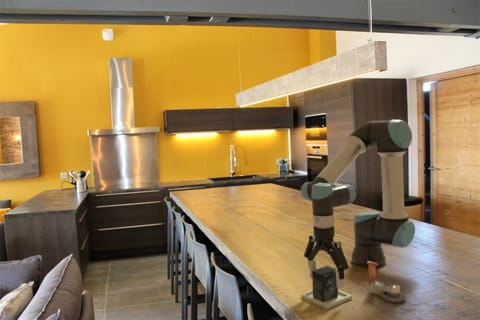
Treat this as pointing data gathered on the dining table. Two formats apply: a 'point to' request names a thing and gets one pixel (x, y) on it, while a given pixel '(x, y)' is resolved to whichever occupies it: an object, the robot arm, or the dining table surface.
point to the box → (324, 283)
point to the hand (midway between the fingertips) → (326, 281)
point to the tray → (329, 303)
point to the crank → (390, 289)
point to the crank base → (394, 298)
